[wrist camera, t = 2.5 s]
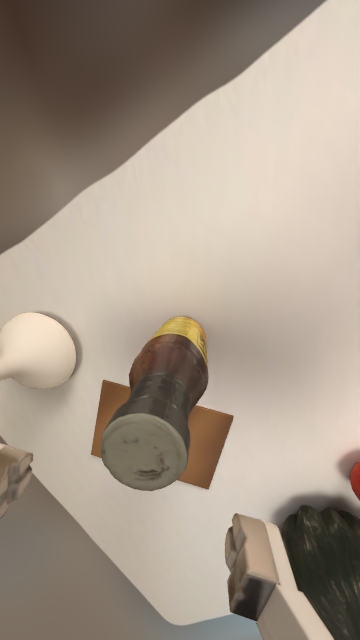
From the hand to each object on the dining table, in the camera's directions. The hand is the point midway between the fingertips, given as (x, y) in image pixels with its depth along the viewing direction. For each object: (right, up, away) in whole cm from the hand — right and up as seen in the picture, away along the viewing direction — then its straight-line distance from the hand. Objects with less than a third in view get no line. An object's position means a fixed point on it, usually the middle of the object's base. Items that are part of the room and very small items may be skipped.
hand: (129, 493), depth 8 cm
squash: (+24, -26, +25) cm, 43 cm away
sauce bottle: (+2, +5, +21) cm, 21 cm away
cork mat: (-1, -11, +24) cm, 27 cm away
